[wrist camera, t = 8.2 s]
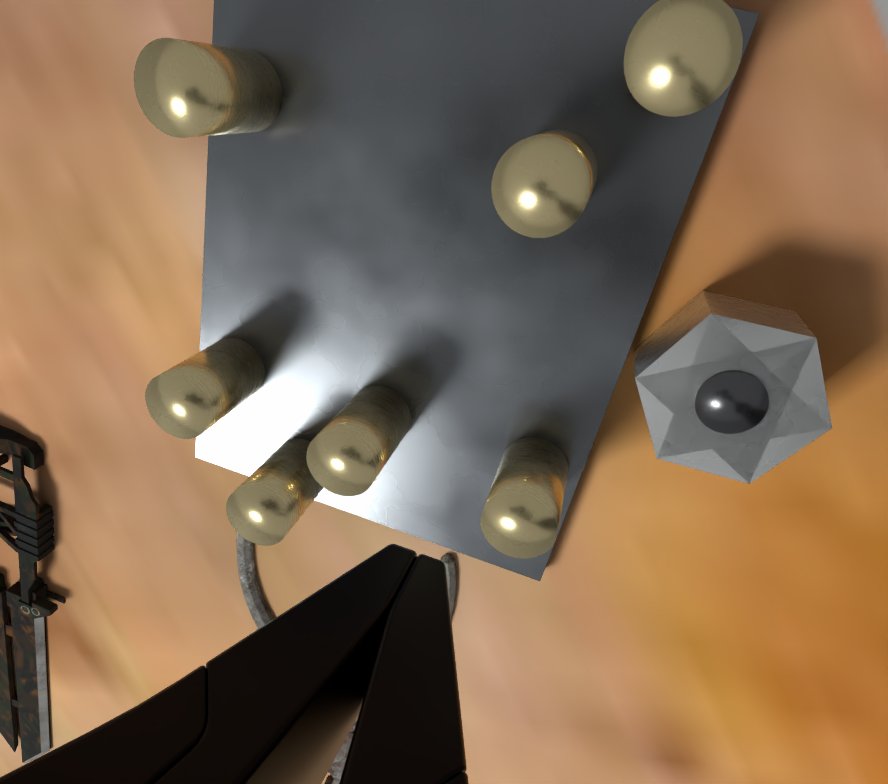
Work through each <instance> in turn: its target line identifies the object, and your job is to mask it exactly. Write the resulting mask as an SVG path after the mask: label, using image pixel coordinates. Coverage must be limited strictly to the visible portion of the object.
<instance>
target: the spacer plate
mask: <svg viewBox="0 0 888 784" xmlns="http://www.w3.org/2000/svg"><path fill="white" fill-rule="evenodd" d="M758 16H759V13H755V12H751V11H746V10H741V9H737V8H732V7H730V6H729V5H728V4H727V3H726V2H725V1H723V0H214V15H213V39H212V44H208V43H201V42H194V41H187V40H180V39H173V38H160V39H156V40H154V41H152V42H150V43H149V44H148V45H146V46H145V47H144V49H143V50H142V51H141V53H140V54H139V56H138V59H137V61H136V65H135V70H134V86H135V92H136V96H137V99H138V102H139V104H140V106H141V109H142V110H143V112H144V114H145V115H146V117H147V118H148V119H149V121H150V122H151V123H152V124H153V125H154V126H155V127H156V128H158V129H159V130H160V131H162V132H163V133H165V134H167V135H170V136H173V137H179V138H184V137H198V136H209V137H208V161H207V185H206V210H205V234H204V258H203V283H202V307H201V332H200V352H198V353H197V354H195V355H193V356H191V357H190V358H188V359H186V360H184V361H183V362H181V363H179V364H177V365H176V366H174V367H172V368H170V369H169V370H167V371H165V372H163V373H162V374H160V375H158V376H156V377H155V378H153V379H152V380H151V381H150V382H149V384H148V386H147V389H146V395H145V398H146V405H147V408H148V410H149V413H150V414H151V416H152V418H153V419H154V421H155V422H156V423H157V424H158V425H159V426H160V427H161V428H162V429H163V430H164V431H166V432H167V433H169V434H171V435H173V436H175V437H178V438H182V439H192V438H195V437H196V453H195V457H197V458H200V459H202V460H205V461H208V462H211V463H213V464H216V465H219V466H222V467H225V468H227V469H230V470H233V471H236V472H238V473H241V474H244V475H247V476H249V477H248V478H247V479H246V480H245V481H244V482H243V483H242V484H241V485H240V486H239V487H238V488H237V489H236V490H235V491H234V492H233V493H232V494H231V495H230V496H229V498H228V500H227V504H226V512H227V517H228V519H229V521H230V523H231V525H232V526H233V528H234V529H235V530H236V531H237V532H238V533H239V534H240V535H241V536H242V537H244V538H245V539H247V540H248V541H250V542H252V543H255V544H258V545H265V546H266V545H274V544H276V543H278V542H280V541H281V540H282V539H283V538H284V537H285V536H286V534H287V533H288V532H289V531H290V529H291V528H292V527H293V526H294V524H295V523H296V522H297V521H298V519H299V518H300V517H301V516H302V514H303V513H304V512H305V511H306V509H307V508H308V507H309V506H310V504H311V503H312V502H313V501H314V500H316V501H319V502H322V503H324V504H327V505H330V506H333V507H335V508H338V509H341V510H344V511H346V512H349V513H352V514H355V515H358V516H360V517H363V518H366V519H369V520H371V521H374V522H377V523H380V524H383V525H385V526H388V527H391V528H394V529H396V530H399V531H402V532H405V533H407V534H410V535H413V536H416V537H419V538H421V539H424V540H427V541H430V542H432V543H435V544H438V545H441V546H443V547H446V548H449V549H452V550H455V551H457V552H460V553H463V554H466V555H468V556H471V557H474V558H477V559H479V560H482V561H485V562H488V563H491V564H493V565H496V566H499V567H502V568H504V569H507V570H510V571H513V572H516V573H518V574H521V575H524V576H527V577H529V578H532V579H535V580H538V581H540V580H541V577H542V575H543V572H544V570H545V567H546V564H547V562H548V559H549V557H550V554H551V551H552V549H553V546H554V544H555V541H556V539H557V536H558V533H559V531H560V528H561V526H562V523H563V520H564V518H565V515H566V513H567V510H568V508H569V505H570V502H571V500H572V497H573V495H574V492H575V489H576V487H577V484H578V482H579V479H580V476H581V474H582V471H583V469H584V466H585V464H586V461H587V458H588V456H589V453H590V451H591V448H592V445H593V443H594V440H595V438H596V435H597V432H598V430H599V427H600V425H601V422H602V420H603V417H604V414H605V412H606V409H607V407H608V404H609V401H610V399H611V396H612V394H613V391H614V388H615V386H616V383H617V381H618V378H619V376H620V373H621V370H622V368H623V365H624V363H625V360H626V357H627V355H628V352H629V350H630V347H631V345H632V342H633V339H634V337H635V334H636V332H637V329H638V326H639V324H640V321H641V319H642V316H643V313H644V311H645V308H646V306H647V303H648V301H649V298H650V295H651V293H652V290H653V288H654V285H655V282H656V280H657V277H658V275H659V272H660V269H661V267H662V264H663V262H664V259H665V257H666V254H667V251H668V249H669V246H670V244H671V241H672V238H673V236H674V233H675V231H676V228H677V225H678V223H679V220H680V218H681V215H682V213H683V210H684V207H685V205H686V202H687V200H688V197H689V194H690V192H691V189H692V187H693V184H694V181H695V179H696V176H697V174H698V171H699V169H700V166H701V163H702V161H703V158H704V156H705V153H706V150H707V148H708V145H709V143H710V140H711V138H712V135H713V132H714V130H715V127H716V125H717V122H718V119H719V117H720V114H721V112H722V109H723V106H724V104H725V101H726V99H727V96H728V94H729V91H730V88H731V86H732V83H733V81H734V78H735V75H736V73H737V70H738V68H739V65H740V62H741V60H742V57H743V55H744V52H745V50H746V47H747V44H748V42H749V39H750V37H751V34H752V31H753V29H754V26H755V24H756V21H757V18H758Z"/></svg>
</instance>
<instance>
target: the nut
mask: <svg viewBox="0 0 888 784" xmlns="http://www.w3.org/2000/svg"><path fill="white" fill-rule="evenodd" d="M635 380H636V384H637V387H638V391H639V395H640V398H641V402H642V406H643V409H644V413H645V417H646V420H647V424H648V428H649V431H650V435H651V439H652V442H653V446H654V450H655V453H656V457H657V459H661V460H664V461H668V462H672V463H675V464H679V465H683V466H686V467H690V468H694V469H697V470H701V471H705V472H708V473H712V474H716V475H719V476H723V477H727V478H730V479H734V480H738V481H741V482H745V483H751V482H752V481H754V480H755V479H757V478H758V477H760V476H761V475H763V474H764V473H766V472H767V471H769V470H770V469H772V468H773V467H775V466H776V465H778V464H779V463H781V462H782V461H784V460H785V459H787V458H788V457H790V456H791V455H793V454H794V453H796V452H797V451H799V450H800V449H802V448H803V447H805V446H806V445H808V444H809V443H811V442H812V441H814V440H815V439H817V438H818V437H819V436H821V435H822V434H824V433H825V432H827V431H828V430H830V429H831V428H832V425H831V419H830V414H829V408H828V402H827V396H826V390H825V384H824V379H823V373H822V367H821V361H820V355H819V350H818V344H817V338H816V337H815V335H814V334H813V333H812V332H811V330H810V329H809V328H808V327H807V325H806V324H805V323H804V321H803V320H802V319H801V318H800V316H799V315H798V314H797V313H796V311H792V310H787V309H783V308H779V307H774V306H770V305H765V304H761V303H757V302H752V301H748V300H743V299H739V298H735V297H730V296H726V295H721V294H717V293H713V292H708V291H704V290H702V291H701V292H700V293H698V294H697V295H696V296H695V297H694V298H693V299H692V300H690V301H689V302H688V303H687V304H686V305H685V306H684V307H683V308H681V309H680V310H679V311H678V312H677V313H676V314H675V315H673V316H672V317H671V318H670V319H669V320H668V321H667V322H665V323H664V324H663V325H662V326H661V327H660V328H659V329H657V330H656V331H655V332H654V333H653V334H652V335H651V336H649V337H648V338H647V339H646V340H645V341H644V342H643V343H642V344H640V345H639V346H638V347H637V348H636V349H635Z"/></svg>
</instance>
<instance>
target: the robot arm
mask: <svg viewBox="0 0 888 784" xmlns="http://www.w3.org/2000/svg"><path fill="white" fill-rule="evenodd" d="M358 715H359V716H358ZM357 717H358V719H357ZM356 719H357V723H356V726H355V730H354V733H353V737H352V740H351V744H350V747H349V751H348V754H347V758H346V761H345V765H344V769H343V772H342V776H341V779H340V783H339V784H468V776H467V774H466V773H465V772H466V758H465V749H464V739H463V729H462V720H461V710H460V700H459V691H458V681H457V672H456V662H455V652H454V643H453V633H452V623H451V614H450V604H449V594H448V585H447V575H446V566H445V564H444V562H442V561H440V560H437V559H435V558H432V557H429V556H426V555H424V554H420V555H419V556H417V555H416V553H415V551H413V550H410V549H407V548H404V547H402V546H399V545H396V544H391V545H388V546H387V547H385V548H384V549H382V550H380V551H379V552H377V553H376V554H374V555H373V556H371V557H370V558H368V559H366V560H365V561H363V562H362V563H360V564H359V565H357V566H356V567H354V568H353V569H351V570H349V571H348V572H346V573H345V574H343V575H342V576H340V577H339V578H337V579H335V580H334V581H332V582H331V583H329V584H328V585H326V586H325V587H323V588H322V589H320V590H318V591H317V592H315V593H314V594H312V595H311V596H309V597H308V598H306V599H304V600H303V601H301V602H300V603H298V604H297V605H295V606H294V607H292V608H291V609H289V610H287V611H286V612H284V613H283V614H281V615H280V616H278V617H277V618H275V619H274V620H272V621H270V622H269V623H267V624H266V625H264V626H263V627H261V628H260V629H258V630H256V631H255V632H253V633H252V634H250V635H249V636H247V637H246V638H244V639H242V640H241V641H239V642H238V643H236V644H235V645H233V646H232V647H230V648H229V649H227V650H225V651H224V652H222V653H221V654H219V655H218V656H216V657H215V658H213V659H211V660H210V661H208V662H207V664H206V667H205V666H200V667H198V668H197V669H195V670H194V671H192V672H191V673H189V674H188V675H186V676H185V677H183V678H182V679H180V680H179V681H177V682H175V683H174V684H172V685H170V686H169V687H167V688H165V689H164V690H162V691H161V692H159V693H157V694H156V695H154V696H152V697H151V698H149V699H147V700H146V701H144V702H142V703H141V704H139V705H138V706H136V707H134V708H132V709H130V710H128V711H126V712H125V713H123V714H121V715H119V716H117V717H115V718H114V719H112V720H110V721H108V722H106V723H104V724H102V725H101V726H99V727H97V728H95V729H93V730H91V731H90V732H88V733H86V734H84V735H82V736H80V737H78V738H76V739H74V740H72V741H70V742H68V743H66V744H64V745H62V746H60V747H58V748H56V749H55V750H53V751H51V752H49V753H47V754H45V755H43V756H41V757H39V758H37V759H35V760H33V761H31V762H29V763H27V764H25V765H23V766H21V767H20V768H18V769H16V770H14V771H12V772H10V773H8V774H6V775H4V776H2V777H0V784H321V783H322V781H323V780H324V778H325V776H326V774H327V772H328V770H329V769H330V767H331V765H332V763H333V761H334V759H335V757H336V756H337V754H338V752H339V750H340V748H341V746H342V745H343V743H344V741H345V739H346V737H347V735H348V734H349V732H350V730H351V728H352V726H353V724H354V722H355V721H356Z"/></svg>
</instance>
